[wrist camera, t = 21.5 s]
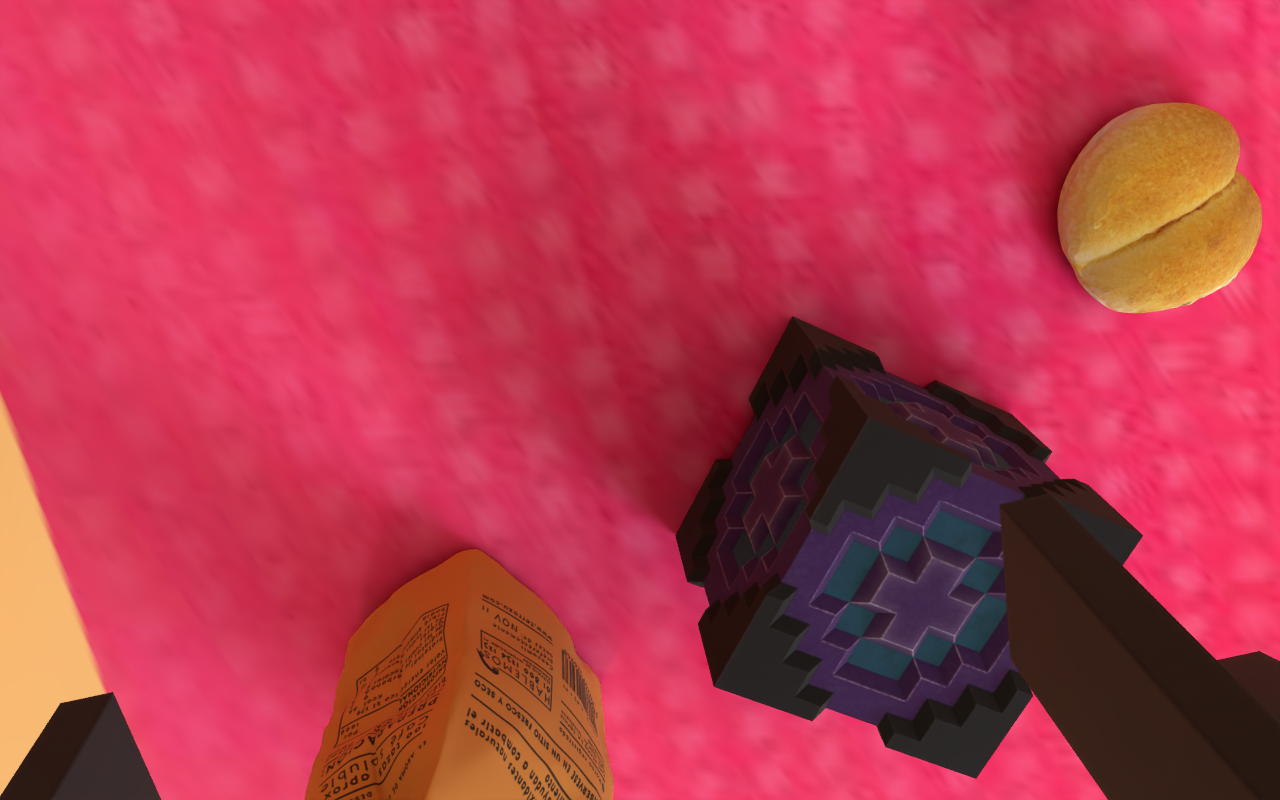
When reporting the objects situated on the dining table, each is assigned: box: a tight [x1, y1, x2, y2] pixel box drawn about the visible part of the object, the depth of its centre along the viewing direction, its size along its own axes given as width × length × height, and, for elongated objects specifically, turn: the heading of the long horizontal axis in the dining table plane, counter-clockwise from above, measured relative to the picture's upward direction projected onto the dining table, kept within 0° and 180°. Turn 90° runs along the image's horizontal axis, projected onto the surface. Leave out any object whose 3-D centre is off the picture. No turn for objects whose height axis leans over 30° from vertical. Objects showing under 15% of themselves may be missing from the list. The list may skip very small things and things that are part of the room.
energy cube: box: [676, 317, 1143, 778], centre depth 47 cm, size 12×12×12 cm
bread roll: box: [1057, 103, 1262, 313], centre depth 47 cm, size 8×9×4 cm
